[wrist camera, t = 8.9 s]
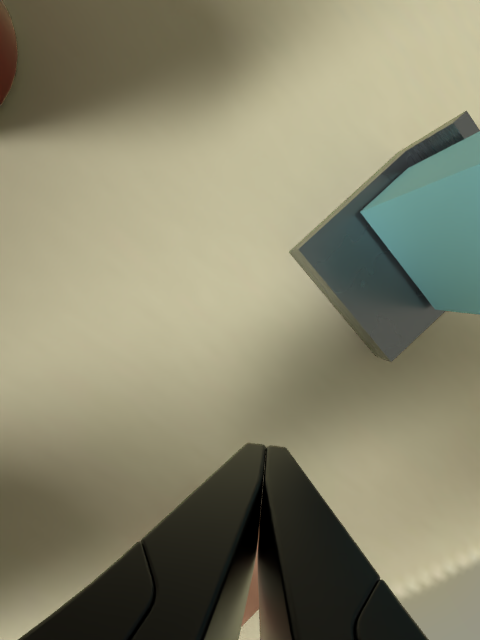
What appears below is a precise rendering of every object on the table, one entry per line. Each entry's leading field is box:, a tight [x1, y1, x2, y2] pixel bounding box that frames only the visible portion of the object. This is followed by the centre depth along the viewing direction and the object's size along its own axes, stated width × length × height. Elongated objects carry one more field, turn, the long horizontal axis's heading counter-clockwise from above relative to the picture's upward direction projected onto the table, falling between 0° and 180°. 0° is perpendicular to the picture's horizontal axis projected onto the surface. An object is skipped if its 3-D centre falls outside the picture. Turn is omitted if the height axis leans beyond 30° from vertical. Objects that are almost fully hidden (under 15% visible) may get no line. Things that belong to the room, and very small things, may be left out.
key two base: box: [289, 111, 480, 362], centre depth 16 cm, size 8×7×4 cm
